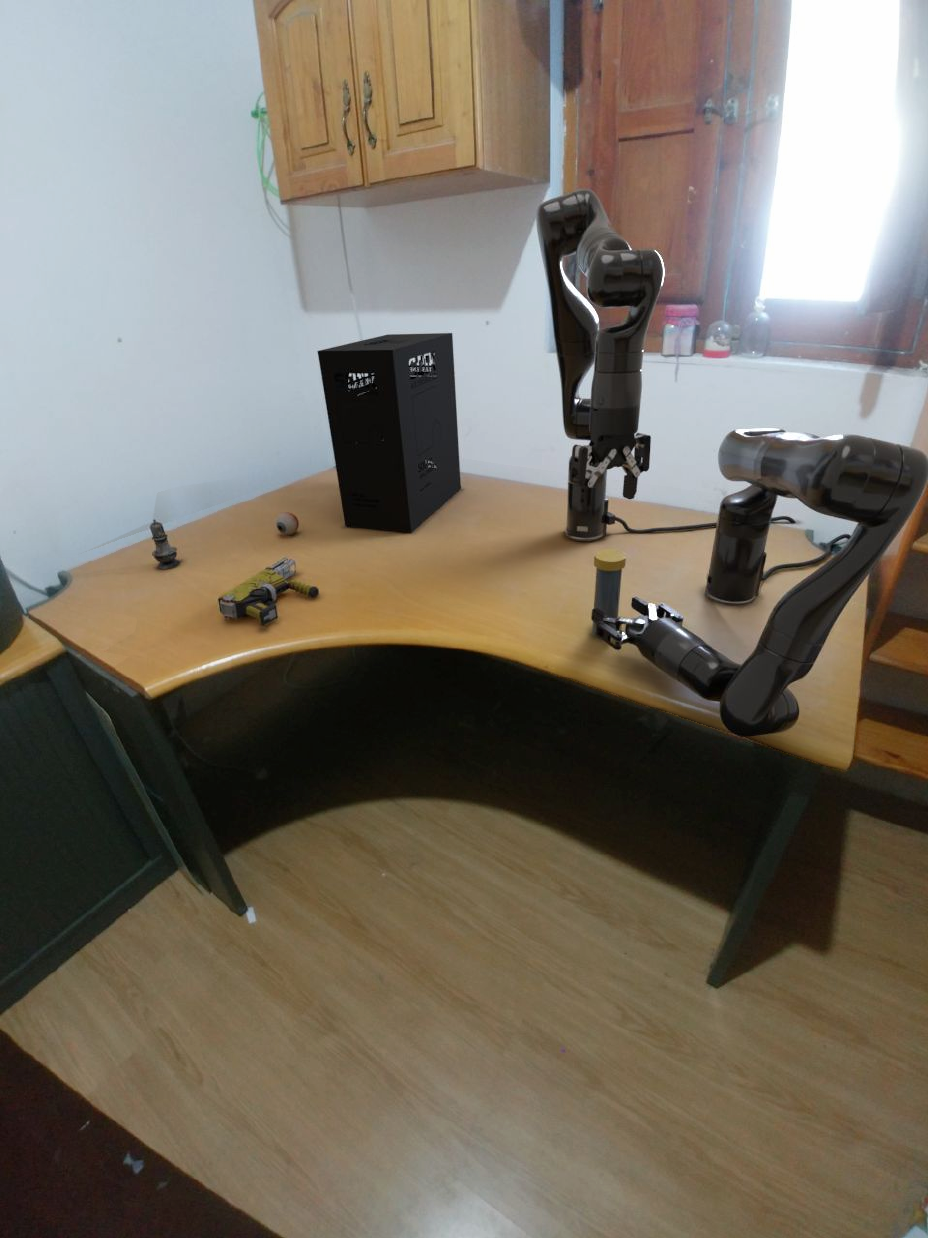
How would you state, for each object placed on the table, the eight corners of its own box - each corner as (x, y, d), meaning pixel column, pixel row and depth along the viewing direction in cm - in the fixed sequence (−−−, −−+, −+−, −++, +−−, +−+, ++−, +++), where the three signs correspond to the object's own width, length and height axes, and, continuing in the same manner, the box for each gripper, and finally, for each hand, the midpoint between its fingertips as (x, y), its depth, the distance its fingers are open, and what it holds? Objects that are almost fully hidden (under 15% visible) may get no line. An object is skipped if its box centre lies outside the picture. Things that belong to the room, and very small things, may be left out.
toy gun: (338, 566, 137) (282, 554, 141) (276, 612, 117) (212, 597, 121) (339, 585, 140) (283, 573, 144) (278, 633, 120) (216, 618, 124)
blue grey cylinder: (594, 639, 111) (600, 563, 103) (590, 627, 115) (594, 553, 107) (618, 638, 111) (625, 562, 103) (613, 626, 115) (619, 551, 107)
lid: (597, 572, 104) (597, 562, 103) (591, 559, 108) (591, 549, 107) (628, 570, 104) (629, 560, 103) (621, 557, 108) (621, 548, 107)
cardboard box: (403, 484, 198) (387, 334, 176) (460, 488, 192) (452, 332, 169) (345, 526, 168) (317, 350, 145) (411, 532, 161) (392, 349, 139)
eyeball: (273, 537, 164) (268, 516, 161) (287, 528, 169) (282, 508, 166) (291, 539, 161) (286, 518, 158) (305, 530, 166) (301, 510, 163)
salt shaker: (171, 569, 148) (156, 523, 142) (150, 569, 149) (135, 523, 143) (185, 560, 153) (172, 515, 147) (165, 559, 154) (151, 514, 148)
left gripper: (635, 392, 98) (626, 489, 106) (562, 403, 93) (559, 504, 101) (668, 398, 92) (656, 501, 100) (592, 411, 87) (587, 517, 95)
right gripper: (714, 619, 96) (647, 579, 109) (641, 642, 91) (580, 597, 104) (707, 658, 99) (643, 615, 112) (636, 682, 95) (578, 634, 108)
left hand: (608, 502), depth 101 cm, fingers open, 8 cm apart
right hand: (613, 607), depth 108 cm, fingers open, 8 cm apart
